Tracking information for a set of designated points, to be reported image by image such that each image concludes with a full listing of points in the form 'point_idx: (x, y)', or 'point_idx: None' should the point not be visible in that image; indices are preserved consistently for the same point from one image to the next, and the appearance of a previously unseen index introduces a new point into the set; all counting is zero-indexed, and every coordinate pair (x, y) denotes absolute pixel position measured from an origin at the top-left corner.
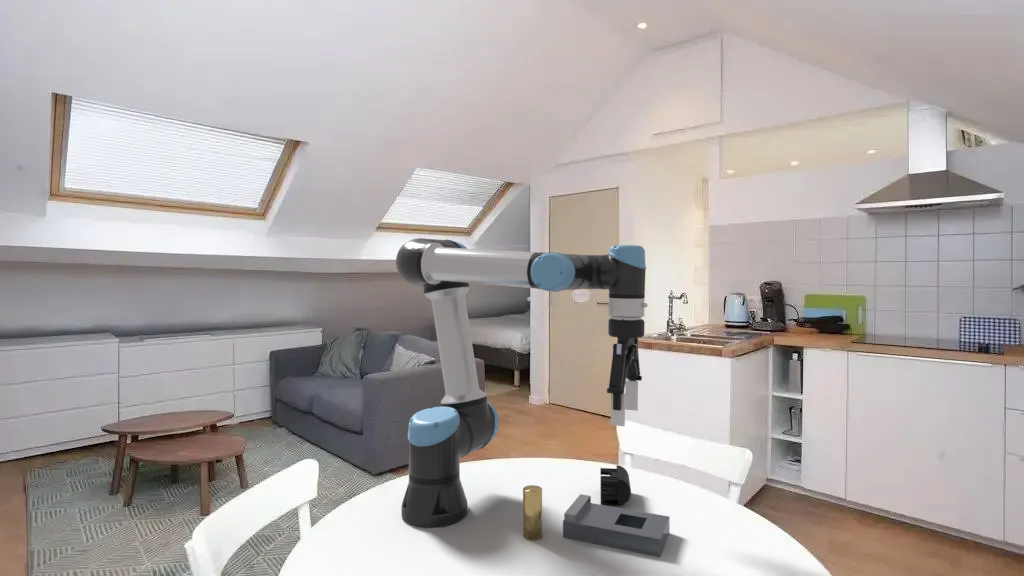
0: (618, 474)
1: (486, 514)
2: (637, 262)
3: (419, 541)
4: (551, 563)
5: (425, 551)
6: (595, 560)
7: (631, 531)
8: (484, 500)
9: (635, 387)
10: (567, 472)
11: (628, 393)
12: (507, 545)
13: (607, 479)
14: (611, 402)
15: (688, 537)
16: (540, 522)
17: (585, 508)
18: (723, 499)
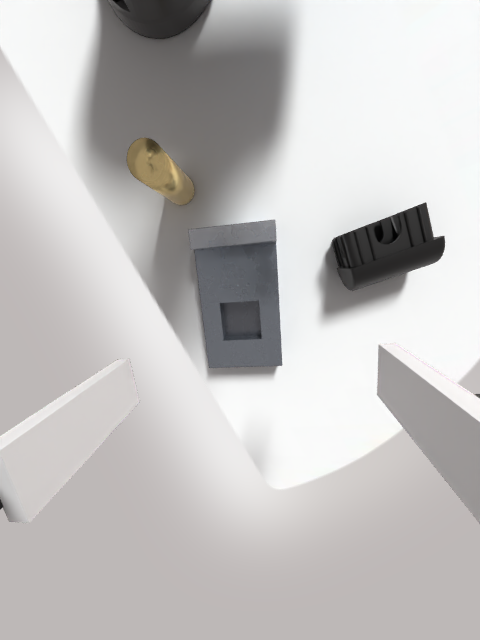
0: (380, 261)
1: (205, 66)
2: None
3: (73, 31)
4: (134, 250)
5: (60, 67)
6: (168, 295)
7: (210, 330)
8: (255, 14)
9: (457, 483)
10: None
11: (428, 403)
12: None
13: (354, 245)
14: (42, 411)
15: (279, 378)
16: (169, 198)
17: (246, 244)
18: None
